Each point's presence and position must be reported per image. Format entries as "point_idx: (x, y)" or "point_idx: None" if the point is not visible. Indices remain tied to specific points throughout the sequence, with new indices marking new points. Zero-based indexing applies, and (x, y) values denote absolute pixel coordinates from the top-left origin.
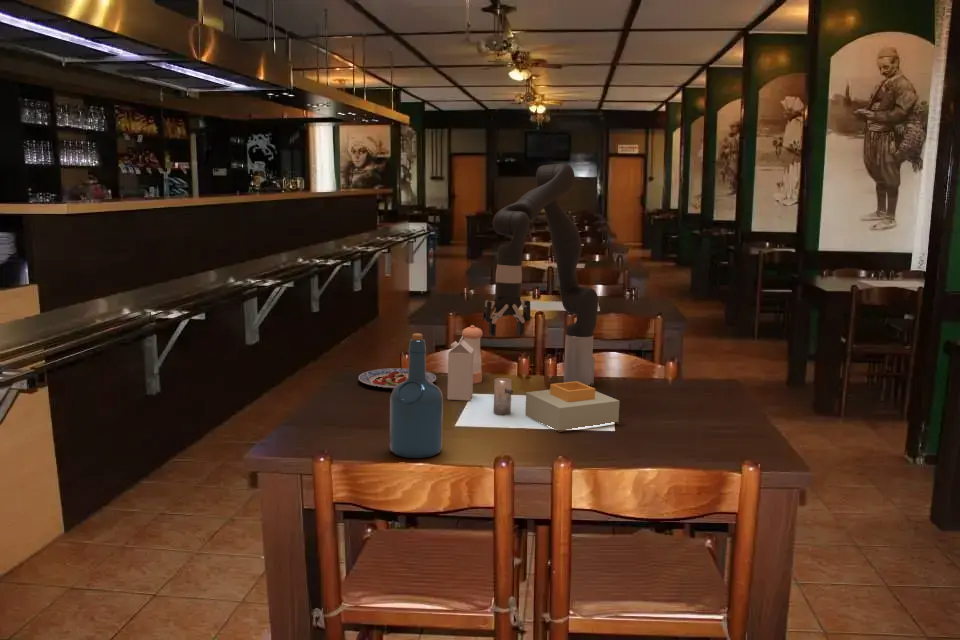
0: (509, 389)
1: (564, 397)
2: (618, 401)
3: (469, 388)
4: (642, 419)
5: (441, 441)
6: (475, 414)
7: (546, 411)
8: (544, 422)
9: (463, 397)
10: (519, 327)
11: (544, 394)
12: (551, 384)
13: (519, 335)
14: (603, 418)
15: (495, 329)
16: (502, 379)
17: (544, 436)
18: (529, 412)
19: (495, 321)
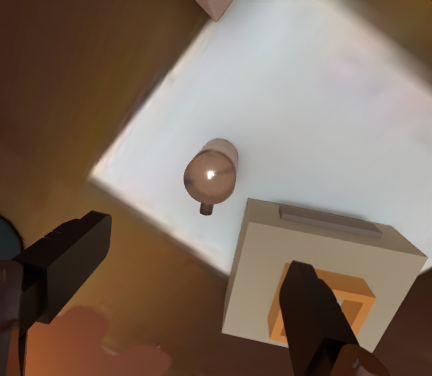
0: (204, 210)
1: (271, 314)
2: None
3: (209, 8)
4: (410, 326)
5: None
6: (163, 134)
7: (231, 282)
8: (233, 262)
9: (200, 5)
10: (291, 340)
11: (272, 257)
12: None
13: (279, 294)
14: None
15: (77, 287)
16: (211, 175)
17: (194, 292)
18: (244, 217)
19: (18, 350)
